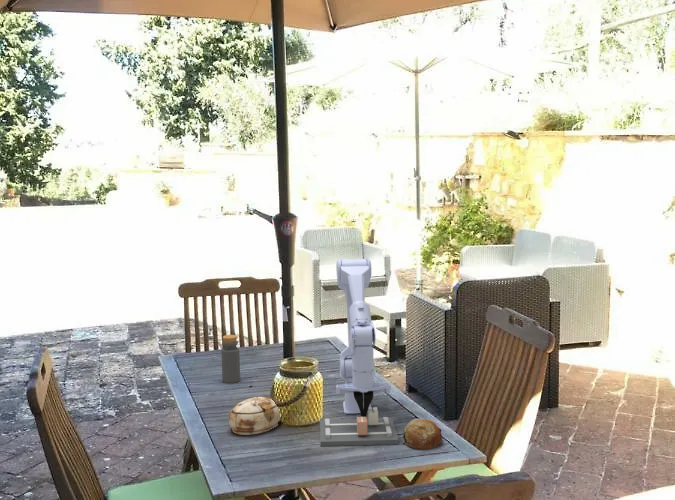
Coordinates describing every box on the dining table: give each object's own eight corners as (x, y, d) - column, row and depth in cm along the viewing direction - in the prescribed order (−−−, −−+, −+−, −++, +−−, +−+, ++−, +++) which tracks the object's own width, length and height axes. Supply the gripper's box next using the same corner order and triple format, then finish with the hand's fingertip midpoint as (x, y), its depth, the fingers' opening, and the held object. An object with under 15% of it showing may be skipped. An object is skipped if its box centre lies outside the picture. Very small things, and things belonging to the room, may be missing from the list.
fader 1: (356, 429, 204) (356, 416, 203) (366, 429, 204) (366, 416, 203) (357, 435, 200) (357, 421, 199) (367, 435, 200) (367, 421, 199)
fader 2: (367, 419, 211) (367, 407, 210) (377, 419, 211) (376, 407, 210) (368, 425, 207) (368, 412, 206) (378, 424, 207) (378, 412, 206)
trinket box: (225, 436, 206) (223, 408, 205) (239, 416, 220) (238, 390, 219) (274, 437, 204) (273, 409, 203) (285, 418, 219) (284, 391, 218)
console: (320, 423, 213) (319, 416, 213) (392, 421, 214) (391, 414, 213) (320, 446, 197) (320, 438, 197) (398, 444, 198) (398, 435, 197)
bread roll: (402, 450, 203) (390, 425, 201) (434, 429, 206) (422, 405, 204) (419, 464, 194) (407, 439, 192) (452, 442, 197) (440, 417, 194)
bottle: (238, 383, 251) (237, 338, 249) (221, 383, 251) (219, 338, 249) (241, 377, 257) (240, 334, 255) (224, 378, 257) (222, 334, 255)
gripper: (336, 374, 203) (337, 423, 204) (391, 373, 203) (391, 422, 205) (335, 366, 210) (336, 414, 211) (388, 365, 210) (389, 413, 212)
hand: (363, 418), depth 209 cm, fingers closed
